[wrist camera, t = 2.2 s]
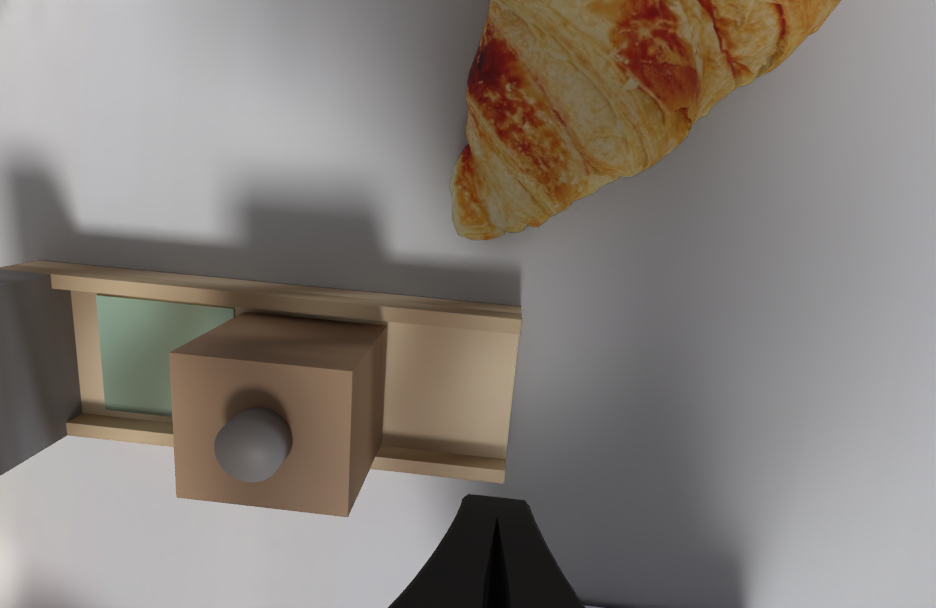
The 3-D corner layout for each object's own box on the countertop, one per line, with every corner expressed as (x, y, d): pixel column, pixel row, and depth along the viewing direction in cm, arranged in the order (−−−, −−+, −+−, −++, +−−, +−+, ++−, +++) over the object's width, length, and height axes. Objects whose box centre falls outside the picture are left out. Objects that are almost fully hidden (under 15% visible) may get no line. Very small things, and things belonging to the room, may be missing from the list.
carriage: (387, 325, 19) (344, 383, 14) (382, 442, 20) (339, 535, 15) (244, 311, 19) (150, 363, 14) (246, 427, 20) (159, 514, 15)
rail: (520, 306, 20) (525, 351, 15) (504, 457, 21) (503, 543, 16) (37, 260, 20) (-108, 288, 16) (53, 408, 22) (-75, 476, 17)
